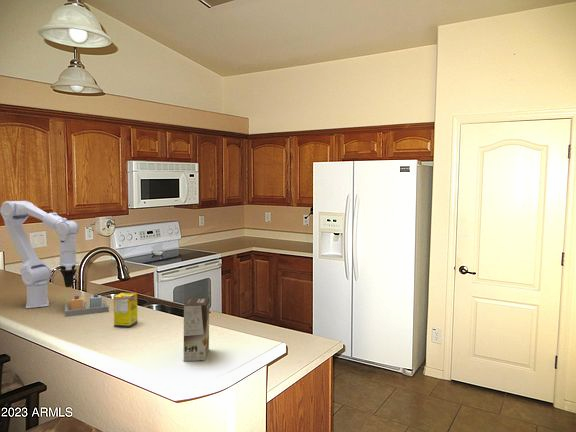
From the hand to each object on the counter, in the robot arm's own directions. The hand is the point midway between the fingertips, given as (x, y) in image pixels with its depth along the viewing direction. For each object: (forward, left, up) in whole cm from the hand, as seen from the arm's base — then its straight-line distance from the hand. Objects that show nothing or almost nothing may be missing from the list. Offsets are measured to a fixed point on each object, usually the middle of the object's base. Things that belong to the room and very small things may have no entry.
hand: (68, 285), depth 168 cm
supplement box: (+32, +17, -10) cm, 37 cm away
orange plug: (+6, +3, -10) cm, 12 cm away
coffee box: (+70, +31, -10) cm, 77 cm away
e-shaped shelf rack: (+6, +6, -9) cm, 13 cm away
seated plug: (+6, +10, -10) cm, 15 cm away
